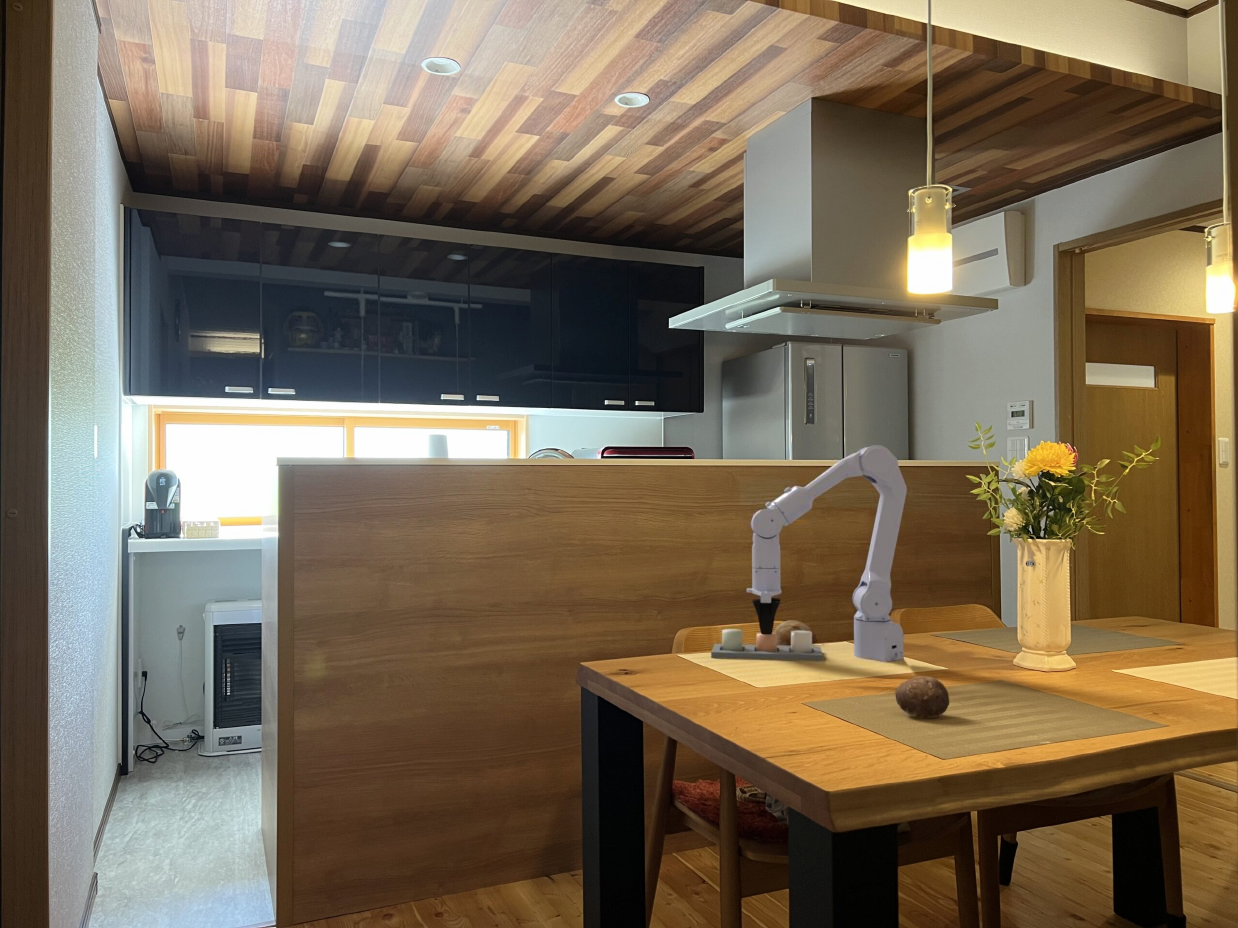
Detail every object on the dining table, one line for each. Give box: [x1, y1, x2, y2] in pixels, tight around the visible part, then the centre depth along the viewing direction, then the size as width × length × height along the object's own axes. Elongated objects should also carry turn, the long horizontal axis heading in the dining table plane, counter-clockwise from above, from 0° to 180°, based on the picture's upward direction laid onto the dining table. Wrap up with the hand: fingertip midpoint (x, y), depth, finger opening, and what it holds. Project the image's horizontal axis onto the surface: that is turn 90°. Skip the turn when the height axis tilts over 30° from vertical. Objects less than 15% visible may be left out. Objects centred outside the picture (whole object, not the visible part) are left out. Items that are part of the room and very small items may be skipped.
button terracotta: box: [755, 631, 778, 652], centre depth 192 cm, size 4×4×5 cm
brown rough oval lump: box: [894, 675, 950, 719], centre depth 148 cm, size 8×8×6 cm
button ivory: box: [790, 631, 813, 653], centre depth 191 cm, size 4×4×5 cm
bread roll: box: [772, 619, 818, 646], centre depth 209 cm, size 10×10×8 cm
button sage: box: [721, 628, 744, 651], centre depth 194 cm, size 4×4×5 cm
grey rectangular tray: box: [710, 643, 824, 662], centre depth 192 cm, size 22×10×2 cm, turn 80°
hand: (766, 633), depth 193 cm, fingers closed, pressing on button terracotta
